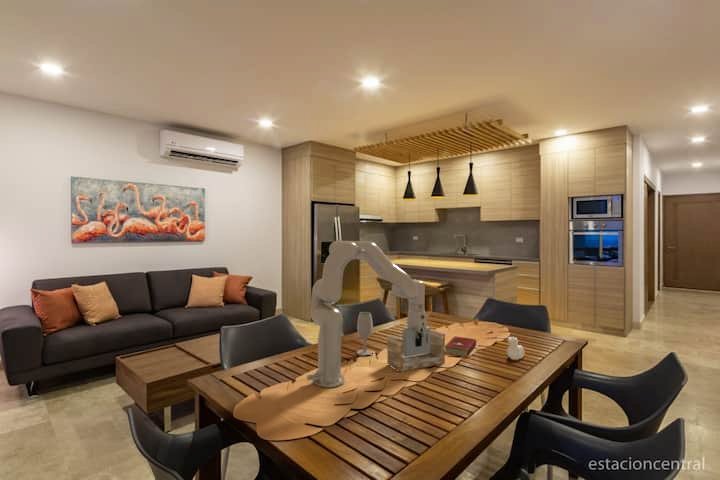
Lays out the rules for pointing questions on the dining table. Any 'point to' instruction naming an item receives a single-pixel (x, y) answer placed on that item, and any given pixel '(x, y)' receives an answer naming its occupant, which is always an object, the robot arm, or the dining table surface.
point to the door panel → (410, 342)
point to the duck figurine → (515, 349)
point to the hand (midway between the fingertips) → (416, 344)
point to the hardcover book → (460, 346)
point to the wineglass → (364, 330)
